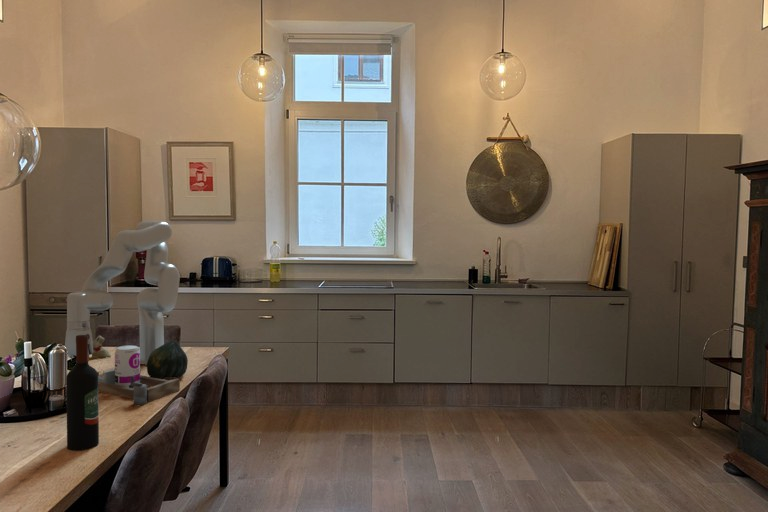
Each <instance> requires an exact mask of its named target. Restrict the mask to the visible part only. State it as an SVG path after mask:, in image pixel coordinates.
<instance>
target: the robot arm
mask: <svg viewBox="0 0 768 512" xmlns="http://www.w3.org/2000/svg"><path fill="white" fill-rule="evenodd" d="M172 234H173V229H172V226H171V225H170V224H169V223H167V222H165V221H161V220H160V221H159V220H155V221H154V220H144V221H141V222H138V223H137V225H136V227H135V229H134V230H132V229H127V230H126V229H125V230H124V229H123V230H121V231H119V232H118V233H116V234H115V237H114V239H113V240H112V243H111V245H110V247H109V250H108V251H107V253H106V255H105V258H104V259H103V262H102V263H101V264H100V265H99V266H98V267H96V268H95V270H94V271H92V272H91V274H90V275H88V277H87V278H86V280H85V282H84V284H83V286H82V287H81V290H80V291H77V292H76V291H75V292H70V293H68V294H67V298H66V331H65V339H64V340H65V341H64V348H65V347H66V348H67V351H68V356H67V357H68V358H69V359H71V360H72V358H74V357H76V336H77V335H88V360H90V356H92V354H93V341H94V339H93V332H92V329H91V326H90V325H91V324H90V323H91V319H90V318H91V311H98V312H99V311H102V312H103V311H107V310H109V309H110V308H112V306H113V305H114V302H115V299H114V296H113V295H112V294H111V293H110V292H108V291H105V290H103V287H104V286H105V285H106V284H107V283H108V282H109V281H110V280H111V279H113V278H116V277H117V276H119V275H121V274H124V272H125V271H126V269H127V267H128V265H129V263H130V260H131V259H132V257H133V254H134V252H136V253H140V252H145V251H146V257H145V258H146V259H145V264H144V273H143V278H144V281H145V282H146V283H147V284H149V285H151V286H152V285H154V286H157V288H155V287H146V288H144V289H142V290H140V292H139V293H138V294H137V298H136V304H137V305H136V306H137V308H138V315H139V317H138V318H139V350H140V364H145V365H144V366H147V361H148V359H149V356H150V354H151V353H152V352H153V351H154V350H155V349H157V348H159V347H160V346H162V345H164V344H165V338H164V337H165V335H164V334H165V331H164V327H165V324H164V323H165V321H164V320H165V319H164V316H163V313H169V312H171V311H173V309H175V307H176V304H177V301H178V295H179V294H178V293H179V287H180V279H181V277H180V272H179V269H178V268H177V267H176V266H175V265H174V264H171V263H168V262H169V261H168V260H169V247H168V244H167V241H169V239H171V237H172Z"/></svg>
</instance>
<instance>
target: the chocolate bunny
mask: <svg viewBox="0 0 768 512" xmlns="http://www.w3.org/2000/svg"><path fill="white" fill-rule="evenodd" d="M104 342H105V338H104V337H103V336H101V335H98V336H97V337H96V338H95V339H94V340H93V354H91V359H95V358H100V359H107V358H106V357H109V358H111V357H112V355H111V354H110V353H111V352H109V349H107V348H105V347H103V343H104Z"/></svg>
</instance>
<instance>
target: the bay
mask: <svg viewBox="0 0 768 512" xmlns="http://www.w3.org/2000/svg"><path fill="white" fill-rule="evenodd" d="M180 383H181V382H180V378H173V379H170V380H168V379H165V378H164V379H158V378H153V377H150V376H147V375H141V374H140V383H137V382H134V376H131V385H134V386H133V388H129V387H123V386H118V385H113V384H108V383H103V382H98V393H99V392H100V393H105V394H110V395H114V396H119V397H124V398H129V399H133V406H137V405H140V406H144V404H145V405H146V404H147V403H148V402H152V401H154V400H157V399H159V398H162V397H165V396H168V395H170V394H173V393H176V392H179V391H180V390H181V385H180ZM147 385H148V386H147ZM151 386H152V387H151ZM147 387H148V388H147ZM137 407H138V406H137Z"/></svg>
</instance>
